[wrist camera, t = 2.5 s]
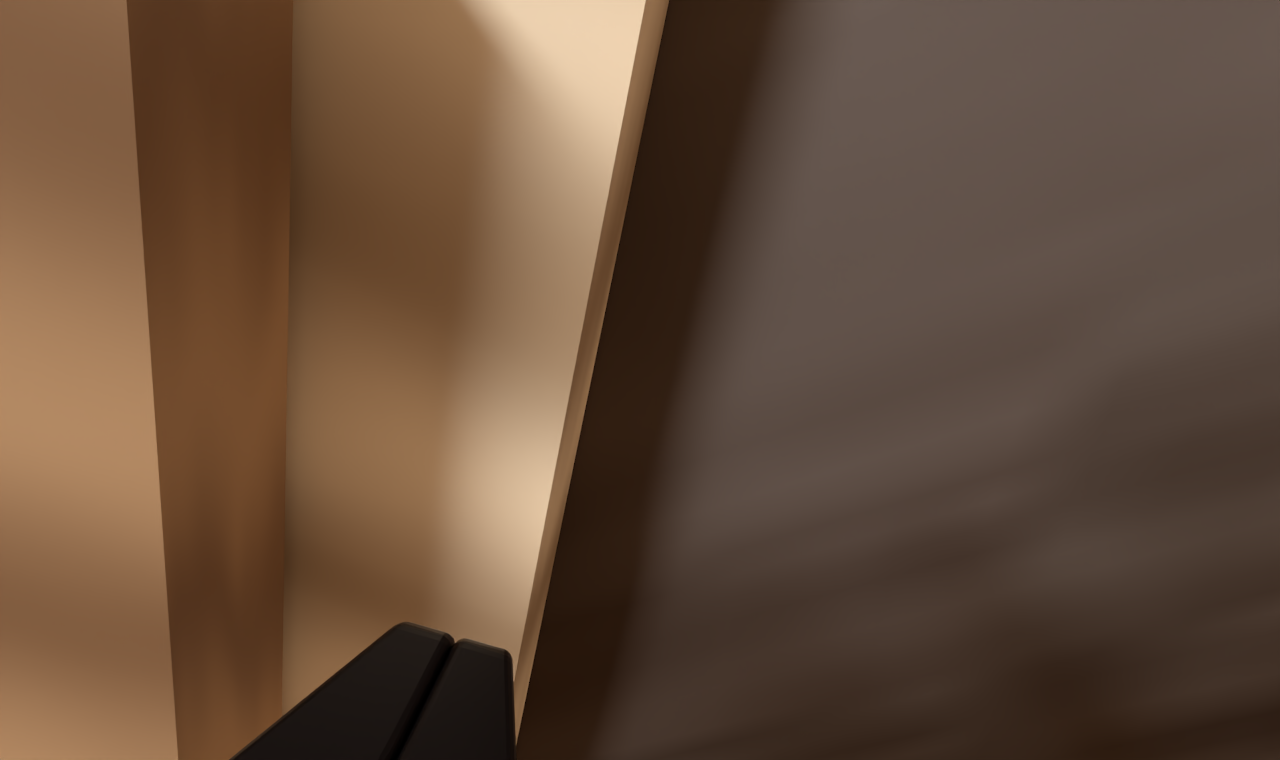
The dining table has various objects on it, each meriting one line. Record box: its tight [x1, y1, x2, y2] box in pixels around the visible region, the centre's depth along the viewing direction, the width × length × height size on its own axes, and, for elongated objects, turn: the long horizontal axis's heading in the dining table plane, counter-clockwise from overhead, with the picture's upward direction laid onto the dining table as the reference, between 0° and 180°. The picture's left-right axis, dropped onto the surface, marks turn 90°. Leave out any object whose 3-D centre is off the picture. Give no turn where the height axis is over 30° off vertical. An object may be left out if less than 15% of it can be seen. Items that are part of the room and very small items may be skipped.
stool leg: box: [0, 0, 293, 760], centre depth 16 cm, size 20×3×3 cm, turn 169°
